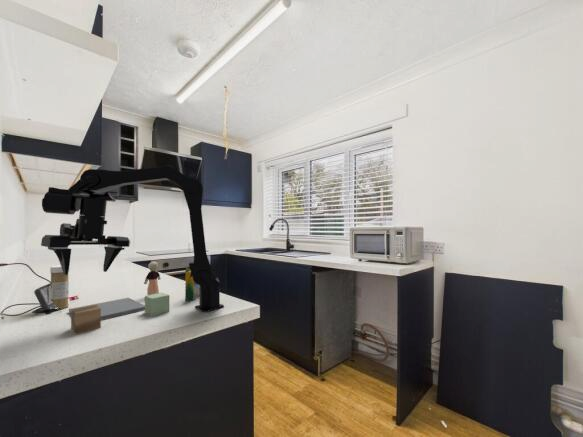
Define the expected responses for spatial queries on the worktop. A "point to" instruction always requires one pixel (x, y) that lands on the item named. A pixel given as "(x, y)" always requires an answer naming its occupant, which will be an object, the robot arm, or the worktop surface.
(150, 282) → the grandmother figurine
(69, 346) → the worktop surface
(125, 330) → the worktop surface
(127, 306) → the baseplate
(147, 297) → the sage brick
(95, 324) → the brown wooden cube
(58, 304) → the sprinkles bottle
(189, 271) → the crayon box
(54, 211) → the robot arm
